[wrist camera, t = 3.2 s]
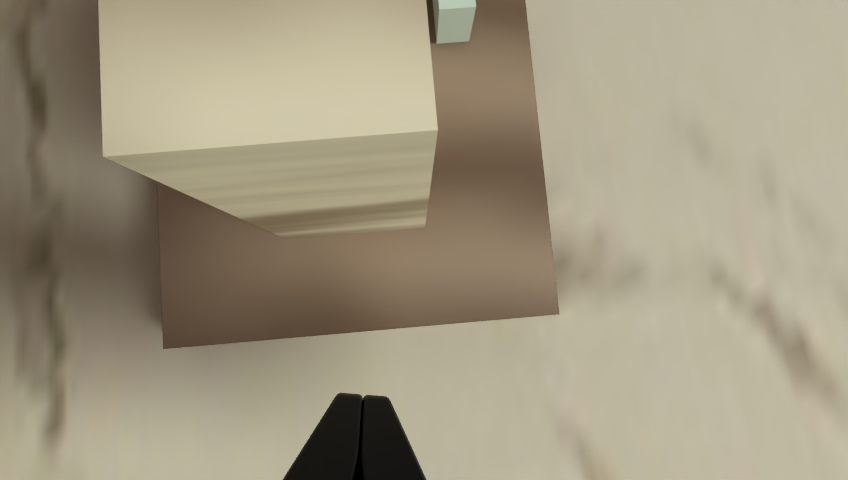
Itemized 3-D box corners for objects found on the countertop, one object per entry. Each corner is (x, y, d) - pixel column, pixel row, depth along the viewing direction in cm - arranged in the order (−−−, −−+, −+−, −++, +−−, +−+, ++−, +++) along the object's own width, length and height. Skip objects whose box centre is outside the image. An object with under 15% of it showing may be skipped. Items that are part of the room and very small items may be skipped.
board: (546, 312, 22) (589, 317, 17) (186, 344, 22) (110, 360, 16) (488, -234, 25) (508, -386, 19) (161, -213, 24) (88, -361, 19)
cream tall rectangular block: (425, 227, 21) (437, 129, 9) (285, 239, 20) (102, 156, 8) (413, 93, 21) (410, -176, 9) (277, 104, 21) (93, -154, 9)
